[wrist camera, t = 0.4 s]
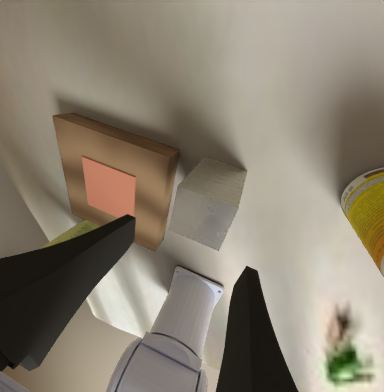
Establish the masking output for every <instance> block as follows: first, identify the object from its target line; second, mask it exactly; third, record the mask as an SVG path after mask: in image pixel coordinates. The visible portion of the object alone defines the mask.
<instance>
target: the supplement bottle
mask: <svg viewBox="0 0 384 392" xmlns="http://www.w3.org/2000/svg"><path fill="white" fill-rule="evenodd" d="M341 207H342V210H343V212H344V214H345V216H346V217H347V219H348V221H349V222H350V224H351V225H352V227H353V229H354V230H355V232H356V233H357V235H358V237H359V238H360V240H361V241H362V243H363V245H364V246H365V248H366V249H367V251H368V253H369V254H370V256H371V257H372V259H373V261H374V262H375V264H376V265H377V267H378V269H379V270H380V272H381V274H382V275H383V277H384V168H378V169H375V170H372V171H369V172H366V173H364V174H362V175H360V176H359V177H357V178H356V179H354V180H353V181H352V182H351V183H350V184H349V185H348V186H347V187H346V189H345V190H344V192H343V194H342V197H341Z"/></svg>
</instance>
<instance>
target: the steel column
mask: <svg viewBox="0 0 384 392" xmlns="http://www.w3.org/2000/svg"><path fill="white" fill-rule="evenodd" d="M246 174H247V171H246V170H243V169H240V168H237V167H234V166H231V165H228V164H225V163H223V162H220V161H217V160H214V159H211V158H208V157H204V158H203V159H202V160H201V161H200V162H199V163H198V164H197V165H196V166H195V168H194V169H193V170H192V171H191V172H190V173H189V174H188V175H187V176H186V177H185V178H184V180H183V181H182V182H181V183H180V184H179V185H178V188H177V192H176V197H175V202H174V207H173V212H172V217H171V222H170V227H169V230H171V231H173V232H176V233H178V234H180V235H183V236H185V237H187V238H190V239H192V240H194V241H197V242H199V243H201V244H204V245H206V246H208V247H210V248H213V249H215V250H217V251H219V249H220V247H221V245H222V243H223V241H224V238H225V236H226V234H227V232H228V230H229V227H230V225H231V223H232V221H233V219H234V217H235V214H236V212H237V210H238V207H239V203H240V199H241V195H242V191H243V186H244V182H245V178H246Z"/></svg>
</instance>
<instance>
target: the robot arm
mask: <svg viewBox="0 0 384 392" xmlns="http://www.w3.org/2000/svg"><path fill="white" fill-rule="evenodd" d="M135 224H136V217H133V216H131V215H129V214H126V215H124V216H122V217H120V218H118V219H116V220H114V221H111V222H109V223H107V224H105V225H103V226H101V227H98V228H96V229H94V230H92V231H89V232H87V233H84V234H82V235H80V236H77V237H75V238H72V239H69V240H67V241H64V242H61V243H58V244H55V245H52V246H48V247H45V248H41V249H38V250H34V251H30V252H27V253H23V254H19V255H15V256H10V257H5V258H1V259H0V392H30V391H29V390H27V389H26V388H24V387H23V386H21V385H20V384H19V383H17V382H16V381H14V380H13V379H11V378H10V377H8V376H7V375H5V374H4V373H3V372H2V371H3V370H4V369H5V368H6V366H7V365H8V366H9V367H11V368H12V369H15V368H16V367H17V366H18V365H21V366H22V367H24V368H25V369H27V370H28V371H30V370H33V369H35V368H37V367H39V366H40V364H41V363H42V361H43V360H44V358H45V357H46V355H47V353H48V352H49V351H50V349H51V347H52V346H53V344H54V343H55V341H56V340H57V338H58V337H59V335H60V334H61V332H62V331H63V330H64V328H65V327H66V325H67V324H68V322H69V321H70V319H71V318H72V317H73V315H74V314H75V313H76V311H77V310H78V309H79V307H80V306H81V304H82V303H83V302H84V300H85V299H86V298H87V296H88V295H89V294H90V292H91V291H92V290H93V288H94V287H95V286H96V285H97V284H98V283H99V281H100V280H101V279H102V278H103V277H104V276H105V275H106V274H107V273H108V271H109V270H110V269H111V268H112V267H113V266H114V265H115V264H116V263H117V262H118V260H119V259H120V258H121V257H122V256H123V255H124V254H125V252H126V251H127V250H128V248H129V247H130V245H131V244H132V243H133V241H134V239H135ZM223 292H224V287H223V286H221V285H218V284H216V283H214V282H212V281H210V280H208V279H206V278H203V277H201V276H199V275H197V274H195V273H193V272H190V271H188V270H186V269H184V268H182V267H180V266H176V268H175V271H174V275H173V279H172V282H171V286H170V290H169V293H168V295H167V297H166V300H165V302H164V304H163V306H162V308H161V310H160V312H159V314H158V316H157V318H156V320H155V322H154V325H153V327H152V329H151V331H150V333H149V332H146V333H145V335H144V338H143V339H142V338H137V339H136V340H135V341H133V342H131V343H130V344H129V346H128V347H127V348H126V350H125V352H124V353H123V355H122V357H121V358H120V360H119V362H118V364H117V366H116V368H115V370H114V372H113V374H112V377H111V379H110V382H109V385H108V388H107V391H106V392H207V387H208V379H207V377H206V372H205V371H204V370H202V369H201V370H200V367H201V363H202V359H201V356H202V352H203V348H204V344H205V339H206V335H207V331H208V327H209V323H210V319H211V315H212V311H213V308H214V307H215V305H216V303H217V302H218V300H219V298H220V297H221V295H222V293H223ZM216 392H298V390H297V388H296V385H295V383H294V381H293V378H292V376H291V374H290V371H289V369H288V367H287V364H286V362H285V359H284V357H283V354H282V352H281V349H280V347H279V344H278V341H277V338H276V335H275V332H274V330H273V327H272V323H271V320H270V317H269V314H268V310H267V307H266V303H265V300H264V296H263V292H262V288H261V284H260V279H259V275H258V271H257V270H255V269H252V268H250V267H248V266H246V268H245V269H244V271H243V272H242V274H241V275H240V277H239V278H238V280H237V282H236V283H235V285H234V288H233V292H232V296H231V301H230V306H229V314H228V323H227V331H226V339H225V348H224V354H223V360H222V365H221V369H220V374H219V379H218V384H217V388H216Z"/></svg>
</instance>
